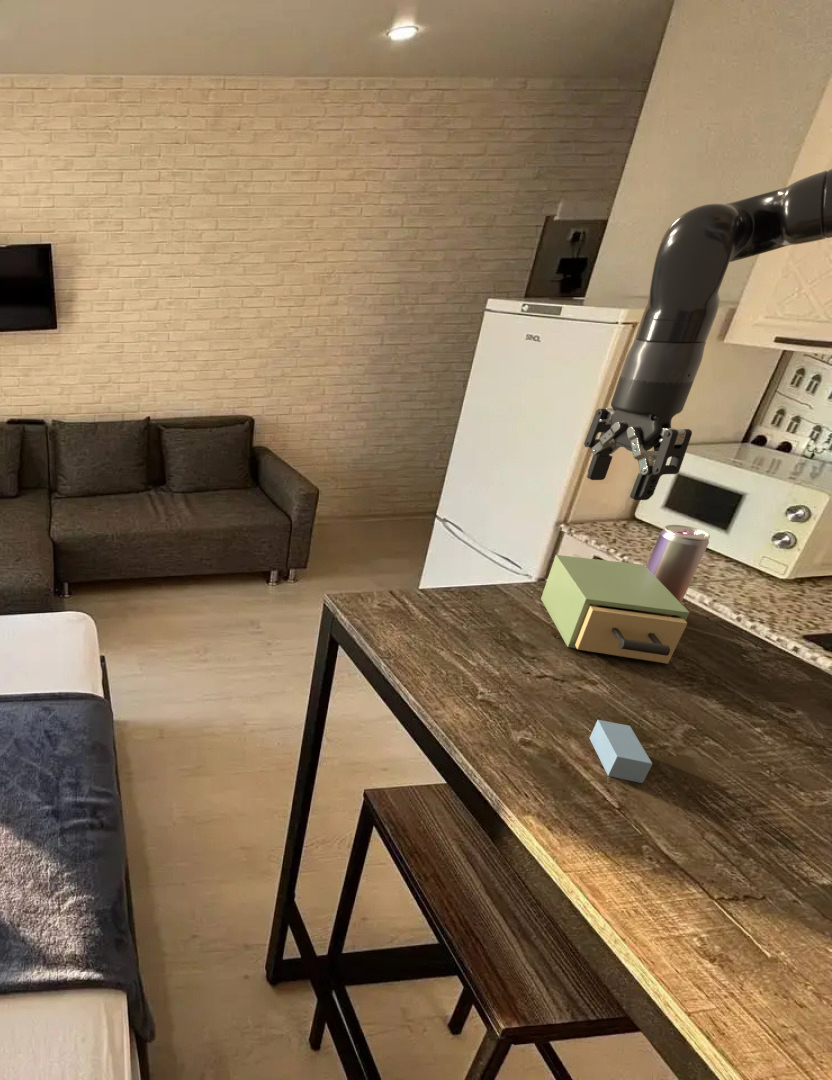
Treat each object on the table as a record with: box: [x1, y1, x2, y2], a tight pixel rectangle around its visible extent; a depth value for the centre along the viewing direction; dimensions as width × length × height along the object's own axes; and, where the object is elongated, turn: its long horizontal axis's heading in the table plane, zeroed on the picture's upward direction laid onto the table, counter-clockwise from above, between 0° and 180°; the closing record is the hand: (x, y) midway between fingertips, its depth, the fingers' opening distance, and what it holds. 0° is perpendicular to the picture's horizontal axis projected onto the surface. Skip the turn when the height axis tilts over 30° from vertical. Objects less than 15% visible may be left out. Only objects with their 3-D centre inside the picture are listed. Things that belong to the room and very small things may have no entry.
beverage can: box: [645, 524, 711, 604], centre depth 98 cm, size 6×6×15 cm
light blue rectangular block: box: [589, 719, 653, 784], centre depth 71 cm, size 3×6×3 cm, turn 159°
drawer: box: [575, 604, 688, 665], centre depth 91 cm, size 19×11×7 cm, turn 159°
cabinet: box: [540, 554, 690, 650], centre depth 95 cm, size 16×13×9 cm
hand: (616, 488), depth 84 cm, fingers open, 8 cm apart
